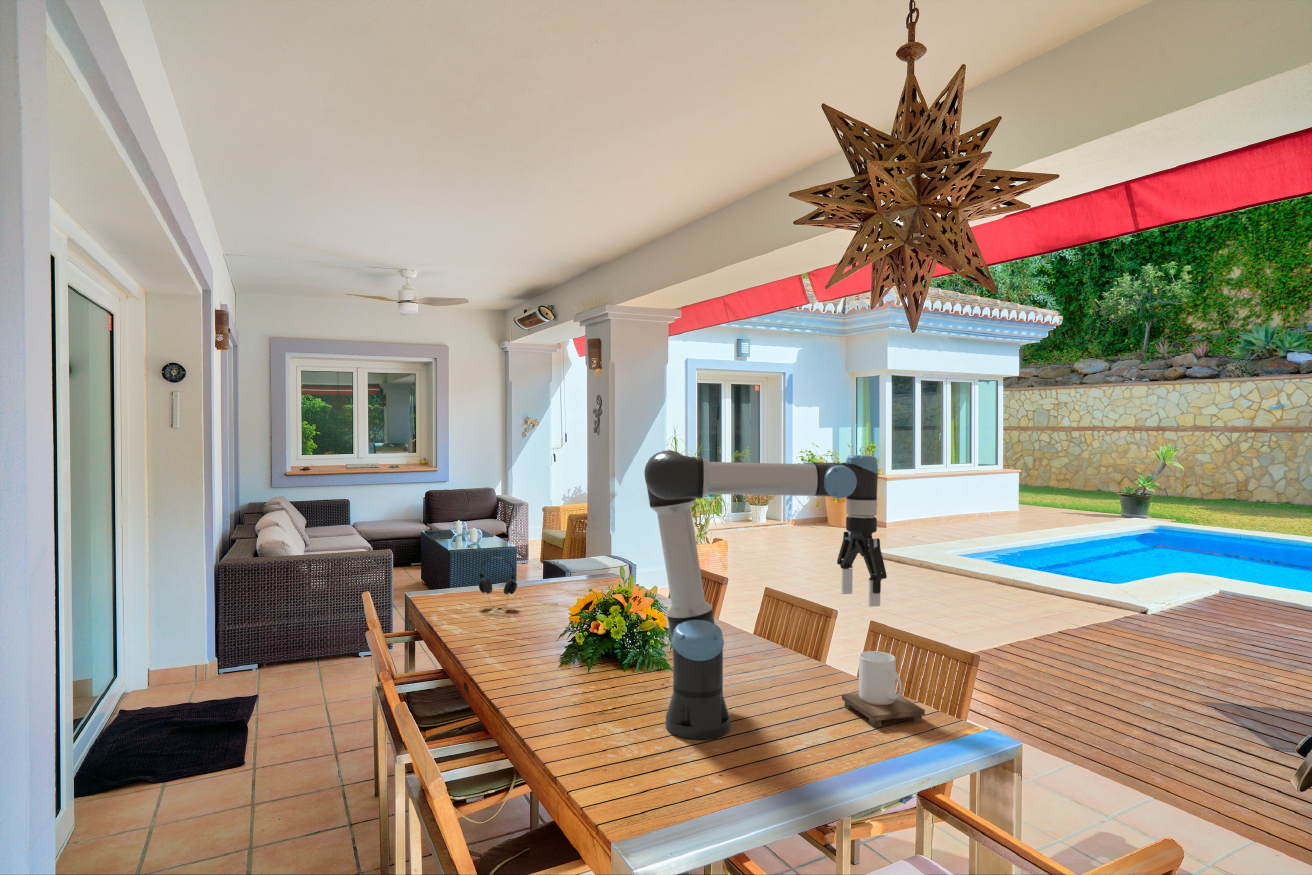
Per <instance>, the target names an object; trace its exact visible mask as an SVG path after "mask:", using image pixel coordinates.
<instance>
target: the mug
mask: <svg viewBox="0 0 1312 875" xmlns="http://www.w3.org/2000/svg"><path fill="white" fill-rule="evenodd" d="M896 661H897V660H896V656H894V655H893V654H891V653H888V652H882V651H876V650H875V651H874V650H873V651H872V650H868V651H863V652H860V653H859V655H858V664H859V665H858V671H859V672H858V693H859V696H860V698H861V700H863V701H864V702H866V703H869V704H873V705H890V704H892V703H893V702H894V701H895V700H897V699H898V698H899V697H900V695H901V696H902V680H901V677H900V675H899V673H898V672H897V670H896V669H897V668H896V663H897V662H896ZM896 682H897V683H898V686H899V691H898V693H897V695H895V693H896Z"/></svg>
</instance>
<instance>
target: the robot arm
mask: <svg viewBox="0 0 1312 875" xmlns="http://www.w3.org/2000/svg"><path fill="white" fill-rule="evenodd" d="M644 467H645V468H644V472H643V473H644V480H645V485H646V491H647V496H648V502H649V508H650V509H651V510H652V511H654V512H655V513H656V515H657V521H658V528H659V534H660V538H661V546H662V553H663V557H664V558H663V559H664V564H665V571H666V578H667V583H668V590H669V596H670V604H671V605H670V608H669V609H668V610H667V611H666V615H667V621H668V629H669V639H670V643H671V649H672V650H671V651H672V660H673V661H672V665H673V666H672V671H673V673H672V681H673V682H672V684H673V685H672V686H673V687H672V695H671V699H670V701H669V705H668V708H667V711H666V714H665V728H666V730H667V731H668V732H669V733H671V734H673V735H675V736H677V737H679V738H680V737H681V738H684V739H689V740H690V739H691V740H709V739H710V740H711V739H716V738H719V737H722V736H724V735H725V734H727V733H728V732H729V731H730V729H731V717H730V714H729V709H728V706H727V703H726V700H725V697H724V691H723V690H724V689H723V685H724V679H723V678H724V676H723V675H724V674H723V673H724V666H723V665H724V654H723V653H724V645H725V642H724V641H725V640H724V636H723V630H722V629H721V626H719V625H717V624H716V623H715V616H714V611H713V605H712V604H710V603H709V602H707V601H706V598H705V591H704V585H703V579H702V573H701V566H700V560H699V553H698V546H697V541H696V536H695V534H696V533H695V529H694V528H695V527H694V521H693V516H692V506H693V505H694V503H695V502H696V499H704V498H705V497H707V495H746V496H749V495H751V496H792V497H793V496H794V497H796V496H803V497H805V496H807V497H832V498H834V499H844V498H846V499H845V502H846V503H845V504H846V505H845V513H846V515H847V516H846V517H845V530H846V531H843V537H842V543H841V546H840V549H839V553H838V557H837V560H836V564H837V565H839V566H840V569H841V592H840V593H841V594H842V595H852V594H853V569H854V566H853V564H854V562H855V560H856V557H857V556H858V554H860V556H861V557H862V558H863V559H864V563H865V565H866V568H867V571H868V574H869V576H870V577H869V578H868V607H870V608H871V607H881V593H882V592H881V590H882V588H881V587H882V580H884V579H885V580H886V579H887V577H888V576H887V570H886V567H885V562H884V559H883V554H882V550H881V540H880V538H873V533H874V534H875V533H876V532H877V530H878V527H877V526H878V519H877V517H876V515H877V513H878V483H879V482H878V480H879V479H878V477H879V470H878V469H879V468H878V458H877V457H876V456H874V455H865V454H861V455H860V454H858V455H857V454H856V455H855V454H851V455H850V454H849V455H848V456H847V457H846V461H845V462H822V461H821V462H818V461H817V462H815V461H812V462H809V461H808V462H802V463H771V462H768V463H767V462H735V461H734V462H733V461H732V462H731V461H708V460H707V459H706V458H705V457H701V456H699V457H698V456H688V455H684V454H681V453H680V452H678V451H675V450H662V451H658V452H656V453H654V454H653V455H652V456H651V457H650V458H649V459H648V460H647V462H646V464H645V466H644Z"/></svg>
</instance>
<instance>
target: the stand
mask: <svg viewBox="0 0 1312 875" xmlns="http://www.w3.org/2000/svg"><path fill="white" fill-rule="evenodd" d="M897 694H898V693H897V692H895V695H897ZM841 700H842V701H843V702H844V708H846V710H848V711H853V710H856V711H858V712H859V713H861V714H862V715H864V716H865V717H867V719H868V725H869V726H870V727H872V728H874V729H876V728H882V721H887V720H894V719H903V718H909V721H911V722H913V723H915V724H916V723H922V722H923V721H922V719H923V716H925V715H926V709H924V708H923V707H921V706H920V705H917V704H916V703H914V702H912V701H910V700H909V699H907V698H906V697H904V696H903V695H902V694H901V695H900V697H899V698H898V699H897V700H895V701H894V702H893V703H892V704H890V705H873V704H869V703H866V702H864V701H863V700H861V698H860V696H859V692H855V693H853V692H852V693H846V694H841Z"/></svg>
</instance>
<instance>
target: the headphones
mask: <svg viewBox="0 0 1312 875" xmlns="http://www.w3.org/2000/svg"><path fill="white" fill-rule="evenodd" d="M493 559H500V560H503V561H505V562H506V563H508V564H509V566H510V567H511V570H512V573H513V574H511V576H510V577H511V578H508V580H507V582H506V583H505V585H504V588H503V594H504V595H509V594H510V595H513V594H514V593H515V592H516V591H517V588H518V583H517V582H516V581H515V580H516V576H517V575H516V574H515V572H516V569H515V568H514V566H513V564H512V563H511V562H510V560H509V559H507V558H504V557H501V556H493V557H490V558H487V559H486V560H484V561H483V563H482V565H481V567H480V573H479V578H480V579H482V580H480V581H479V583H478V589H479V590H480V592H481V593H482V594H485V593H486V594H487V597H488V598H487V599H490V597H489V595H488V594H492V592H493V584H492V581H491V580H490V579H489V577H485V574H484V573H483V567H484V565H485V563H487V562H488V561H490V560H493ZM508 599H509V597H507V600H506V602H508ZM488 602H489V603H491V602H490V600H488ZM490 605H491V606H492V608H494V611H493V612H495V613H498V614H499V613H500V614H504V613H507V612H510V610H507V609H506V608H507V606H508V604H506V607H503V610H502V607H497V610H496V607H495V606H493V605H492V604H490ZM504 608H505V609H506V610H505V609H504ZM500 610H501V611H500ZM504 611H505V612H504ZM488 613H489V614H490V612H488Z"/></svg>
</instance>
